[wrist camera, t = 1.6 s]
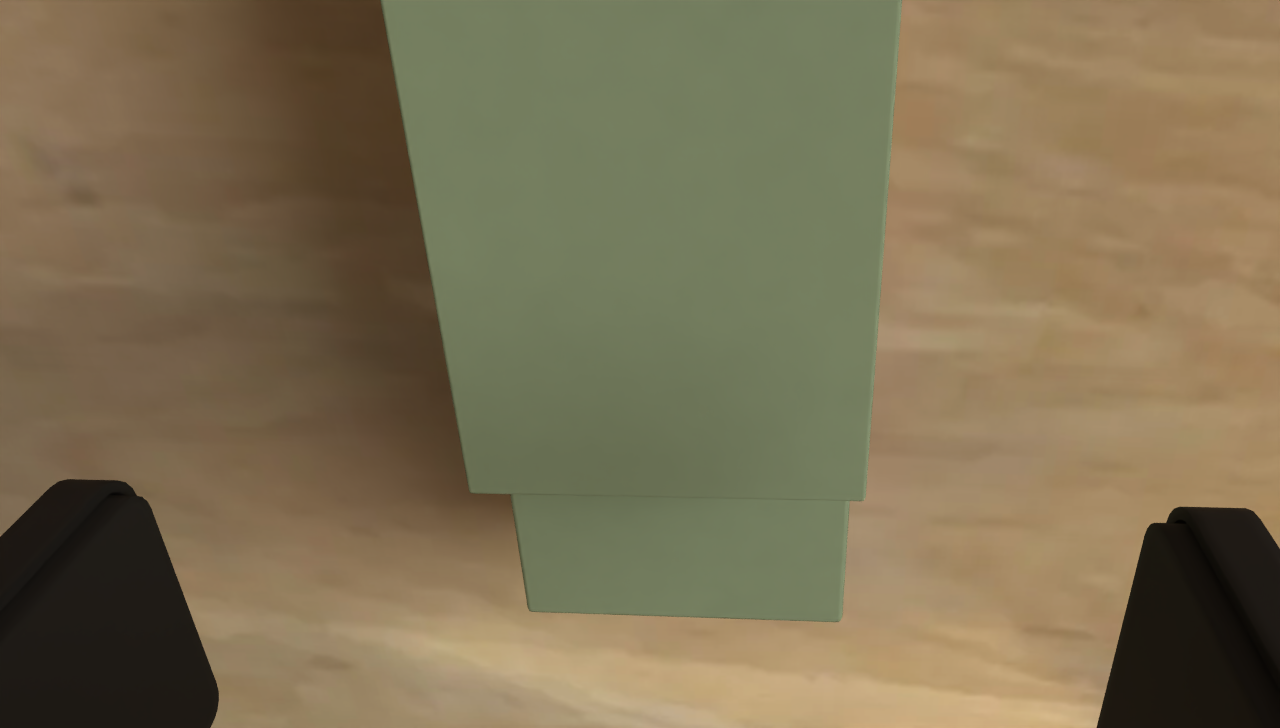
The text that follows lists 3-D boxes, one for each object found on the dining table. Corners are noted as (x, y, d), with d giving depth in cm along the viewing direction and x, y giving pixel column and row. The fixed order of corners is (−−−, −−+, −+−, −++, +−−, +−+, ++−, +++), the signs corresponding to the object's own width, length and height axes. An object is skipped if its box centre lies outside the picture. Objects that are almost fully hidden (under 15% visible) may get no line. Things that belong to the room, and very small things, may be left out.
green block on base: (445, -342, 15) (283, -388, 10) (891, -378, 14) (964, -447, 9) (553, 503, 23) (494, 714, 18) (840, 509, 23) (863, 731, 17)
